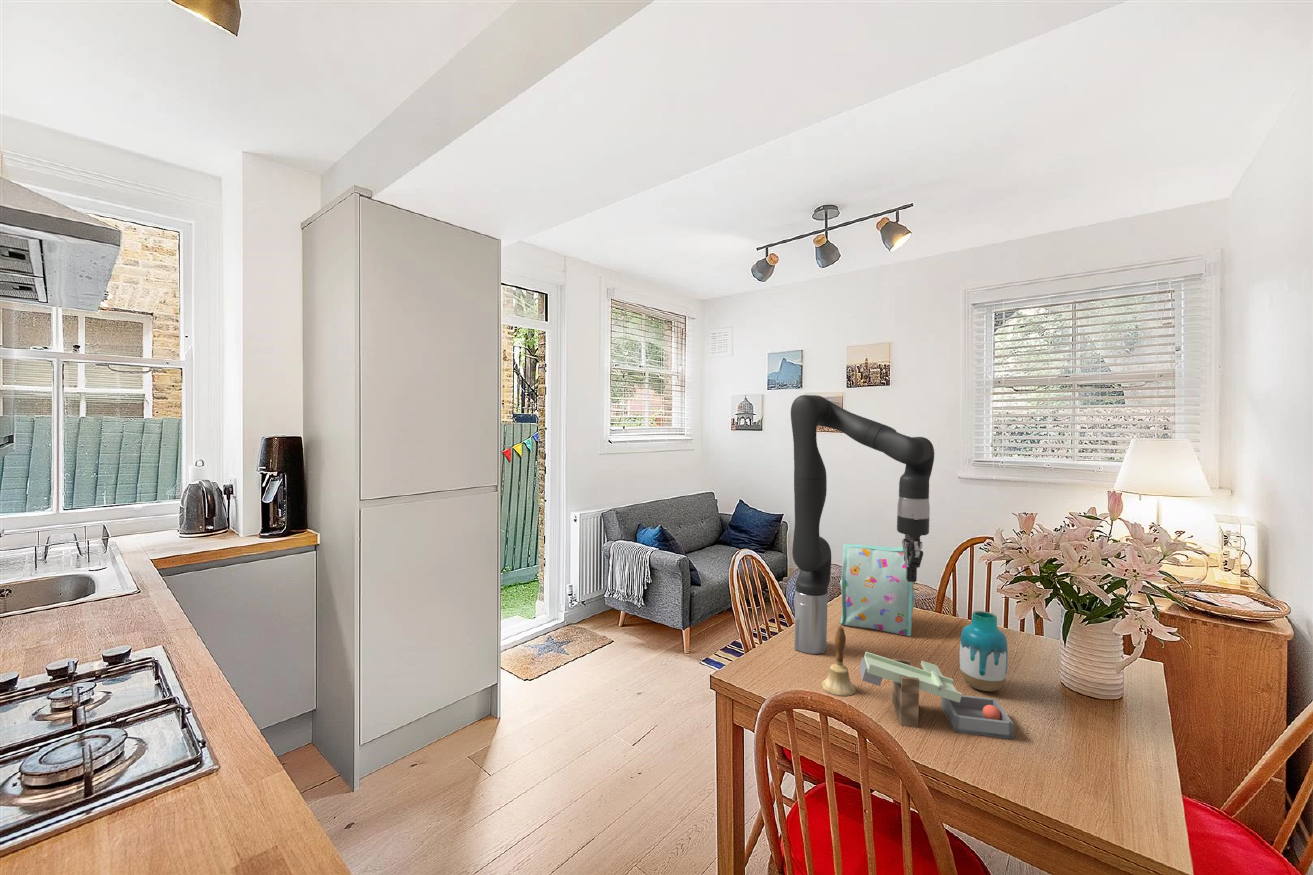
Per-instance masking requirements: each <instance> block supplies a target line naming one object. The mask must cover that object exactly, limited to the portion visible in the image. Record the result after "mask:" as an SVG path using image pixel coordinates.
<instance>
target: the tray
mask: <svg viewBox="0 0 1313 875" xmlns="http://www.w3.org/2000/svg"><path fill="white" fill-rule="evenodd" d="M940 698H941V703H940V707H941V709H942V711H943V713H944V715H945V718H946V719H947V720H948V723H949V725H950V727H951V729H952V731H953V732H954V733H959V734H965V735H966V734H968V735H975V736H981V737H982V736H983V737H991V738H999V739H1006V740H1014V727H1015V726H1014V724H1015V723H1014V722H1013V721H1012V719H1011V718H1010V717H1009V715H1008V714H1007V713H1006V711H1005V709H1004V708H1003V707H1002V706H1001V704H1000V702H998V700H997V699H996V698H993V697H992V698H991V697H982V696H973V695H963V694H962V696H961V700H960V703H958V702H955V701H952V700H949V699H946V698H943V697H940ZM986 705H993V706H995V707H996V708H998V710H999V711H1000V714H1001V716H1000V719H999V720H993V719H986V718H985V717H984V715H983V708H984V707H985V706H986Z"/></svg>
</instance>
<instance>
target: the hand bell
mask: <svg viewBox="0 0 1313 875" xmlns="http://www.w3.org/2000/svg"><path fill="white" fill-rule="evenodd" d="M846 637H847V636H846V634H845V630H844V627H843V626H838V627H837V630H836V633H835V636H834V645H835V648H836V654H835V655H836V656H835V657H836V659H835V663H833V664H831V665H830V666H829V671H828V675H827V677H826V679H824V680H823V681H822V682H821V687H822V689H823V690H824V691H826V692H827V693H829V694H831V695H834V696H837V697H849V696H852V695H854V694H856V687H855V686H854V684H853V683H852V681H851V679H850V675H849V673H850V672H849V668H848V667H847V666H845V665H844V651H845V650H844V649H845V647H846V642H847V641H846V640H847V638H846Z"/></svg>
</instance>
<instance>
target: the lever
mask: <svg viewBox="0 0 1313 875" xmlns="http://www.w3.org/2000/svg"><path fill="white" fill-rule="evenodd" d="M863 656H864V657H861V661H860V664H859V667H858V670H859V673H860V676H861V680H862V681H863V682H865V683H869V684H871V685H875V686H878V687H881V685H882V680H883V679H886V680H888V681H892V682H893V681H894V682H898V683H901V676H904V677H914V678H919V691H922V692H926V693H928V694H931V695H933V696H937V697H940V698H942V697H943V698H946V699H949V700H952V701H955V702H958V703H960V700H961V696H962V695H963V693H962V692H960V691H958V690H957V689H956V687H955V685H954V678H951V677H947V676H944V675H943V673H942V672H941V670H940V668H939V667H938V665H937V664H934V663H931V662H927V661H925V660H921V662H920V666H921V668H919V667H915V666H913V665H911V664H910V665H907V664H904V663H901V662H897V661H894V660H893V659H891V658H888V657H884V656H882V655H877V654H875V653H871V652H869V651H865V653H864V655H863Z"/></svg>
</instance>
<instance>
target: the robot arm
mask: <svg viewBox="0 0 1313 875" xmlns="http://www.w3.org/2000/svg"><path fill="white" fill-rule="evenodd" d="M790 420H791V422H790V423H791V429H792V431H791V432H792V440H793V460H794V461H793V464H794V465H793V468H794V469H793V493H794V494H793V495H794V497H793V498H794V529H793V541H792V553H791V554H792V555H791V556H792V559H793V561H794V564H795V566H797V568H798V569H799V574H798V576H797V578H796V580H795V598H794V599H795V602H794V603H795V604H794V606H795V608H794V609H795V610H794V633H793V634H794V641H793V642H794V643H793V644H794V650H795V651H799V652H802V653H805V654H809V655H819V654H823V653H825V652H826V651H827V643H828V642H827V639H828V638H827V636H828V634H827V633H828V598H829V597H828V595H829V594H828V593H829V592H828V590H829V589H828V588H829V584H830V582H831V573H832V571H831V570H832V549H831V546H830V544H829V543H828V541H827V540H826V539H825V538H823V537H822V536H820V523H821V517H822V514H823V510H824V507H825V503H826V499H827V491H828V490H827V487H828V486H827V485H828V484H827V480H828V479H827V470H826V466H825V463H824V461H823V458H822V456H821V453H820V450H819V447H818V442H817V439H818V438H817V429H818V428H817V427H819V426H820V427H822V428H823V427H825V428H827V429H829V428H830V429H832V430H836V431H838V432H841V433H843V434H844V435H846V436H848V437H849V438H851V440H853V441H855V442H857V443H859V444H861V445H863V446H865V447H868V448H870V449H874V450H875V451H878V452H880V453H881V452H882V453H883V454H884V455H886V456H888V457H890V458H891V459H893V460H895V461H897V462H899V463H901V464H904V465H905V468H904V473H903V474H901V475H900V477H899V482H898V501H897V509H896V510H897V512H896V514H897V516H896V531H897V532H898V533H900V534H902V535H904V538H902V541H901V543H902V547H903V553H904V561H906V562H905V564H906V579H907V581H908V582H913V583H916V582H917V578H918V575H917V574H918V569H919V568H920V567H921V562H922V560H923V557H924V552H923V541H921V536H927V535H928V534H929V533H930V514H931V513H930V509H931V508H930V507H931V506H930V478H931V475H932V471H933V466H934V462H935V447H934V445H933V443H932V441H930V440H929V439H928V438H927V437H924V436H913V437H912V436H908V435H905V434H902V433H900V432H897V430H896V429H895V428H893V427H891V426H889V425H887V424H883V423H882V422H881V423H880V422H878V421H875V420H872V419H869V418H867V417H865V416H864V417H863V416H860V415H858V414H855V413H853V412H851V411H848V410H846V409H845V408H842V407H841V406H839V405H837V404H836V403H833V402H832V401H831V400H829V399H826V398H825V397H823V396H821V395H816V394H814V395H813V394H802V395H799V396H797V397H795V399H794V400H793V402H792V403H791V406H790Z"/></svg>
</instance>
